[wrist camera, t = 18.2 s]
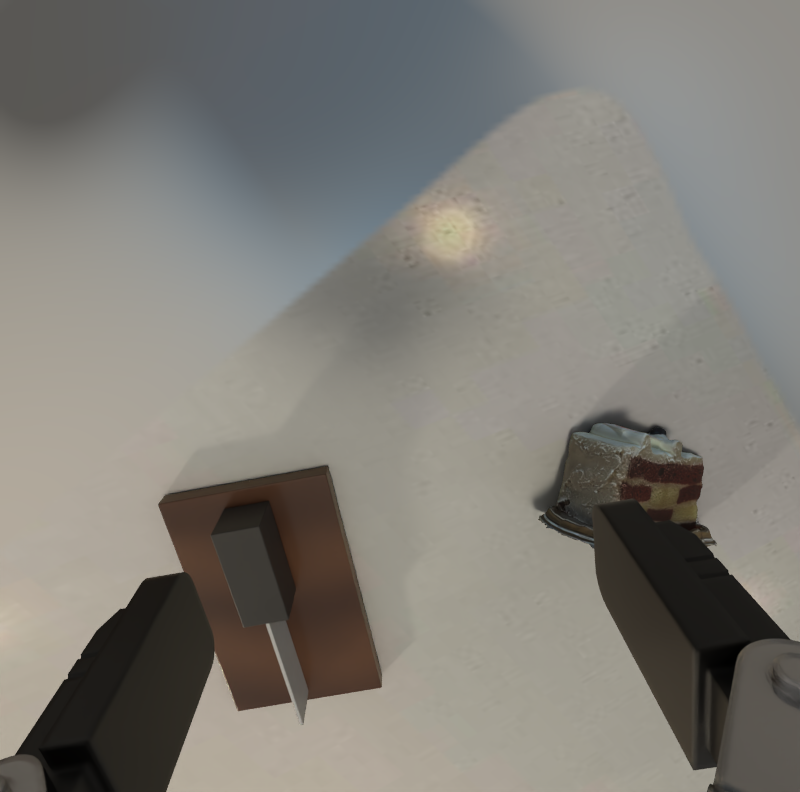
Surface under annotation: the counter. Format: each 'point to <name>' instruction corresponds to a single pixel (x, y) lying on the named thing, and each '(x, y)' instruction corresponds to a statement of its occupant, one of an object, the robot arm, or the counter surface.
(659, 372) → the counter surface
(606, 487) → the chocolate cake
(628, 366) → the counter surface
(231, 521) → the knife
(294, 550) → the board
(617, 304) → the counter surface
